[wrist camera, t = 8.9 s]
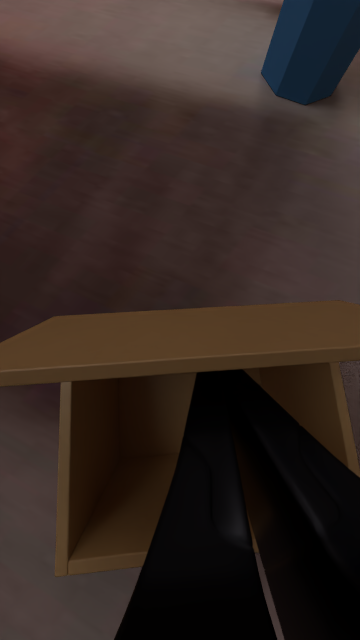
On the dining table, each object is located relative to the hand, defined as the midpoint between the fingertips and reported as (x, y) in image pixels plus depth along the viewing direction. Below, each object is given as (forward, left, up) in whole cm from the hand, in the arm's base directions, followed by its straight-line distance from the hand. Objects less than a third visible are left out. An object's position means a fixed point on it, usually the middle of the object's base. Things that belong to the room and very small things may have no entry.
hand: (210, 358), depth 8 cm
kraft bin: (-1, -3, -10) cm, 11 cm away
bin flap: (0, +1, +1) cm, 1 cm away
